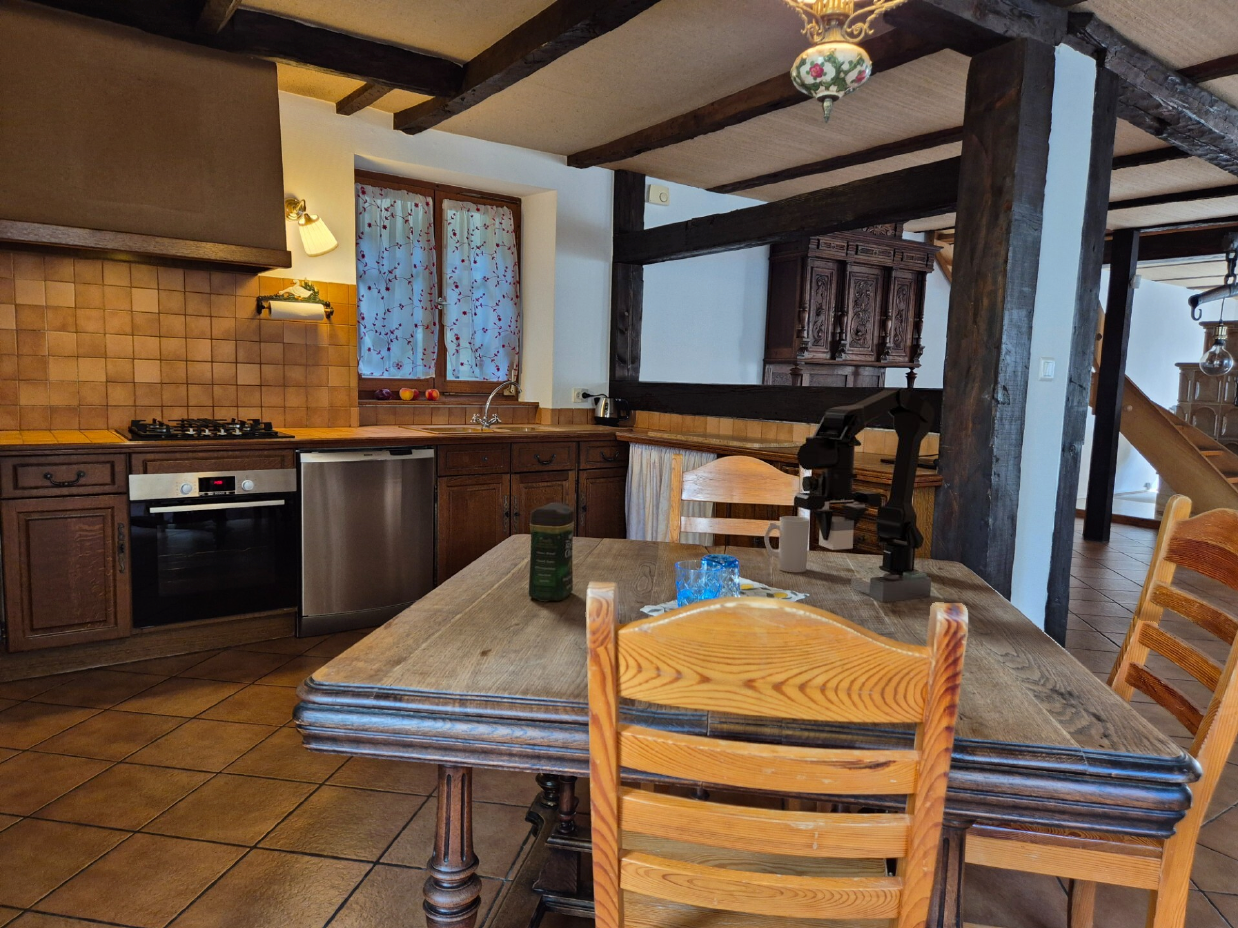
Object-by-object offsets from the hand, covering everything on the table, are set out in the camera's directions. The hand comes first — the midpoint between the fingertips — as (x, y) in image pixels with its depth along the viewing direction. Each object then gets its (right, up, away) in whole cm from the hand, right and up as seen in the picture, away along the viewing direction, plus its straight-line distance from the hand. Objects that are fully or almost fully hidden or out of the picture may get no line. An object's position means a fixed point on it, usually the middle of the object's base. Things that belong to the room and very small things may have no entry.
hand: (836, 539), depth 164 cm
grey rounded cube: (0, -2, 0) cm, 2 cm away
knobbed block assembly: (+10, -11, -6) cm, 16 cm away
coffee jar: (-60, -10, -12) cm, 62 cm away
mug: (-8, -8, +14) cm, 18 cm away
